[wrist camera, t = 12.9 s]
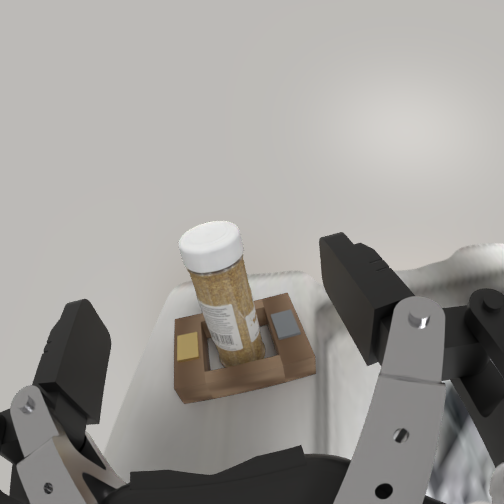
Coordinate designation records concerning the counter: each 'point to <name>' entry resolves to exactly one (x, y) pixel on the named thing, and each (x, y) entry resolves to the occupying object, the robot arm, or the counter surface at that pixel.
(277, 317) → the slate tag
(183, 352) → the brass tag
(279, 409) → the counter surface
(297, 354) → the socket block
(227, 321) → the sprinkles bottle
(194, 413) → the counter surface
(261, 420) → the counter surface
